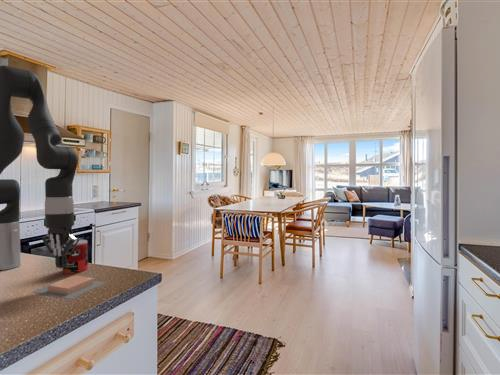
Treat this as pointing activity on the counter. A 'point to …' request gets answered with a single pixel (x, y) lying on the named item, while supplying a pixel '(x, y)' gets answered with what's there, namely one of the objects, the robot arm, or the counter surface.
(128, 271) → the counter surface
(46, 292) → the mat
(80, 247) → the canned food
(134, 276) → the counter surface
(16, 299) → the counter surface
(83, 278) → the block
